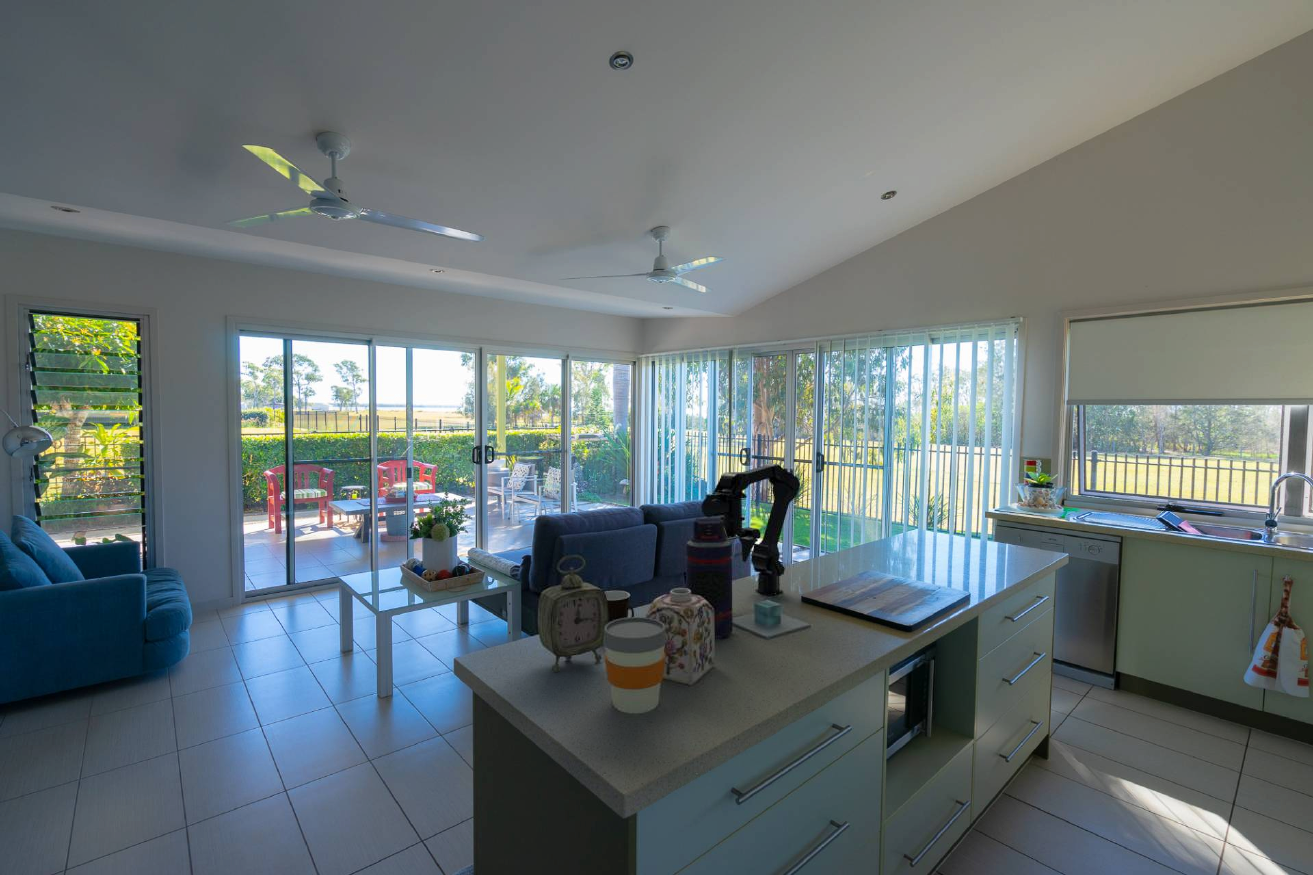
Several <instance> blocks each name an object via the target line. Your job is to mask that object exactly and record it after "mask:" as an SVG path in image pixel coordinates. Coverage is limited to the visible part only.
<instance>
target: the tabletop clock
mask: <svg viewBox="0 0 1313 875" xmlns="http://www.w3.org/2000/svg"><path fill="white" fill-rule="evenodd" d="M569 559H580V560H581V561H582V562H583V564H582V566H580V567H579V568H577V569H575V568H574V567H572V566H570V568H569V570H568V571H567V570H562V569H561V568H560V567H561V564H562V563H564V561H566V560H569ZM585 566H586V561H585V558H583V556H581V555H578V554H573V555H567V556H564V557H563V558H561V559H560V560H559V562H558V563H557V567H556V568H557V571H558V572H560V574H564V575H565V576H564V577H563V578H562V580H560V581H561V582H560V584H559V585H555V586H551V587H548V588H546V589H544V590H543V591H541V593H540V595H539V599H538V605H537V631H538V636H539V641H540V643H541V645H542V646H543V647H544V648H545V649H546V650H548V651H549V652H551V654H553V655H554V656H556V657H555V664H553V665H552V667H551V670H552V672H553V671H554V673H558V672H559V670H560V665H559V661H560V658H565V660H566V659H567V660H566V661H570V659H571V660H572V657H573V656H578V655H583V654H585V653H589V652H593V654H594V660H596V661H597V662H600V661H601V660H602V658H603V657H602V654H601V653H598V652H597V649H600V648H601V647H602V646H604V644H603V637H604V628H605V626H606V624H608V619H609V614H608V603H607V598H606V594H605V592H606V591H605V590H603V589H601V588H599V587H598V586H595V585H593V584H591V583H588V582H583V579H582V578H581V577H580V576H579V575H577V573H579V572H581V571H582V570H583V569H584V567H585Z"/></svg>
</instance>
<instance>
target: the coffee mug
mask: <svg viewBox="0 0 1313 875" xmlns="http://www.w3.org/2000/svg"><path fill="white" fill-rule="evenodd" d="M604 592H605V594H606V598H607V603H608V614H609V619H608V623H609V622H611V621H614V620H617V619H622V618H629V617H628V616H629V609H630V612H631V617H635V611H634V608H633V607H632V606H631V605H630V597H631V594H630V593H629V592H627V591H625V590H609V591H608V590H607V591H604Z"/></svg>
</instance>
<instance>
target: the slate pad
mask: <svg viewBox="0 0 1313 875" xmlns="http://www.w3.org/2000/svg"><path fill="white" fill-rule="evenodd" d="M732 625H733V626H735V627H737V628H740V629H742V630H744V631H745V632H749V633H751V634H754V635H756V636H759V637H761V638H763V639H766V640H769V639H772V637H773V638H775V637H774V636H776V637H779V635H780V636H782V635H781V634H783V635H786V634H788V633H787V632H790V633H792V631H793V632H796V631H795V630H797V631H799V630H803V629H802V628H804V629H807V628H810V627H811V624H810V623H807V622H805V621H802V620H801V619H797V618H794V617H791V616H788V615H785V614H783V613H781V623H778V624H774V625H770V626H765V625H763V624H760V623H758V622H755V619H754V612H752V613H747V614H744V615H739V616H735V617H732ZM809 626H810V627H809ZM806 627H807V628H806ZM785 633H786V634H785Z"/></svg>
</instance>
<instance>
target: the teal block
mask: <svg viewBox="0 0 1313 875" xmlns="http://www.w3.org/2000/svg"><path fill="white" fill-rule="evenodd" d="M753 606H754V610H753V611H754V612H753V613H754V619H755V622H758V623H760V624H763V625H765V626H770V625H774V624H778V623H781V614H782V612H781V611H782V610H781V609H782V608H781V606H782V605H781V603H777V602H775V601H772V600H769V599H765V600H762V601H758V602H754V605H753Z"/></svg>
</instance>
